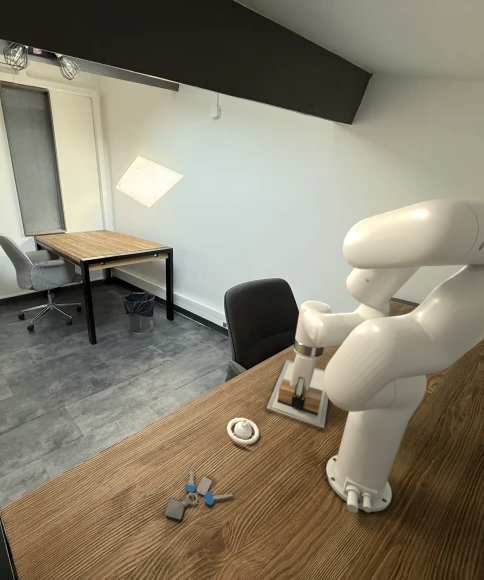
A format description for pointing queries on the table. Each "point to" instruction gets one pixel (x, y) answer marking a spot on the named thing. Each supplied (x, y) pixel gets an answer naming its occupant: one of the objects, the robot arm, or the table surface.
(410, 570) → the table surface
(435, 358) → the robot arm
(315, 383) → the whiteboard
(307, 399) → the eraser
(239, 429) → the ring around a ball
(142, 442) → the table surface
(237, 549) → the table surface
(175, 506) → the key chain
